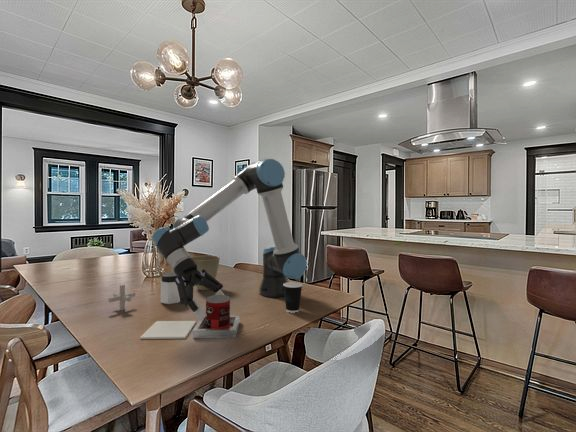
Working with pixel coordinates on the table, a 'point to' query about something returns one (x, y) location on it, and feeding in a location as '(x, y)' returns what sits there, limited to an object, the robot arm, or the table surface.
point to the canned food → (218, 312)
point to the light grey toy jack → (122, 297)
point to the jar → (169, 289)
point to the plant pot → (207, 266)
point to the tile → (169, 330)
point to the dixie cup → (292, 296)
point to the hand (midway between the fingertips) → (216, 311)
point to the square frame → (216, 330)
